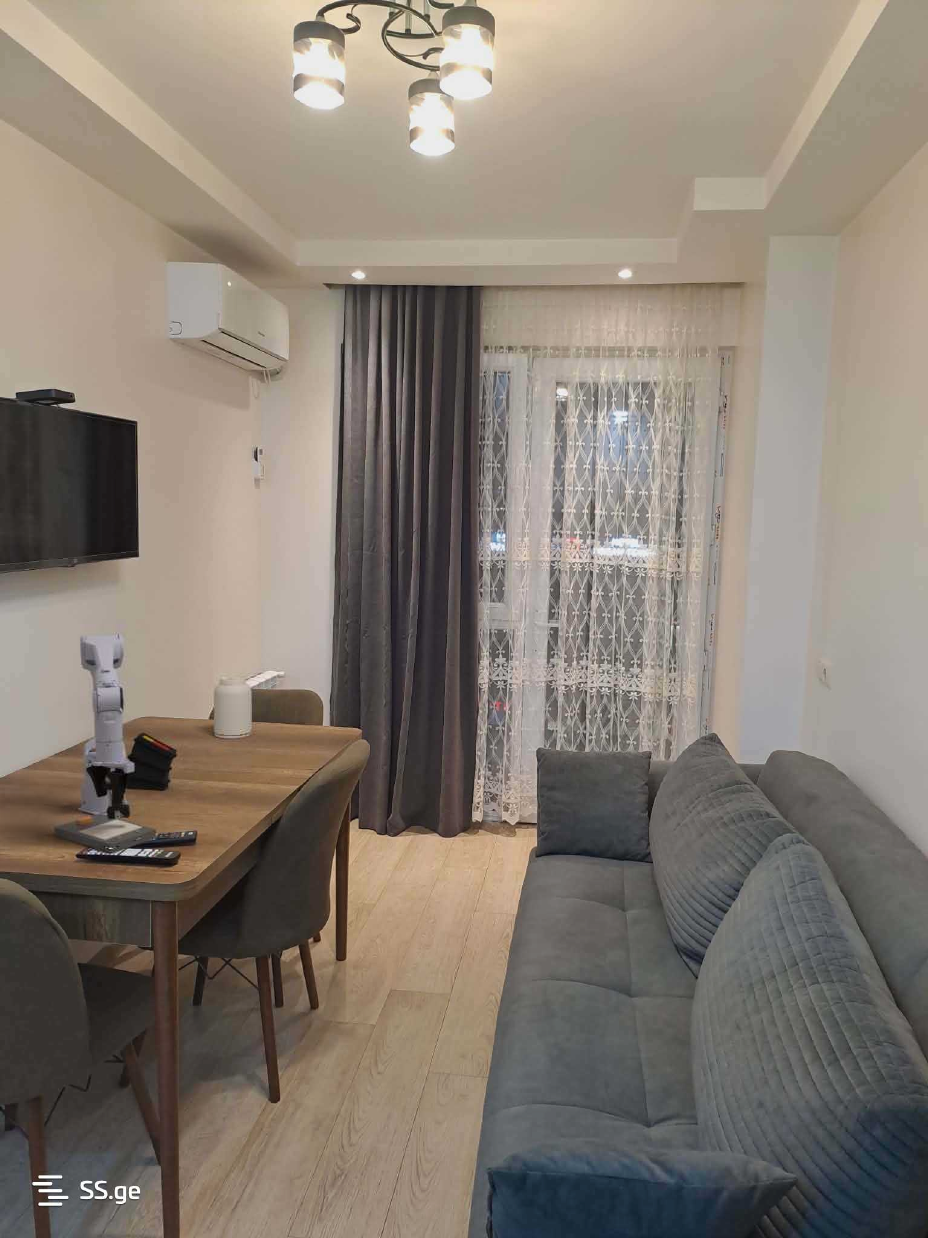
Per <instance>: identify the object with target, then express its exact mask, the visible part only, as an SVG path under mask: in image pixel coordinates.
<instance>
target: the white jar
mask: <svg viewBox="0 0 928 1238" xmlns="http://www.w3.org/2000/svg"><path fill="white" fill-rule="evenodd" d="M252 697H253V693H252V689H251V686H250V685H249V684H248V683H247V680H246V678H245V677H244V676H237V675H236V676H235V675H233V676H231V675H229V676H223V677H221V678H220V679H219V684H217V685H216V686H215V688H214V691H213V733H214V732H215V733H217V734H224V735H240V734H245V733H249V732H250V731H251V730H252V731H253V728H252V725H253V724H252V723H253V722H252V721H253V720H252V718H253V714H252V713H253V709H252V708H253V707H252V706H253V705H252V704H253V702H252V699H253V698H252ZM251 735H252V732H251V733H250V734H247V735H242V736H219V735H216V734H214V736H215V737H217V738H220V739H226V740H227V739H228V740H229V739H230V740H231V739H232V740H233V739H234V740H235V739H242V738H247V737H249V736H251Z"/></svg>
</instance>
